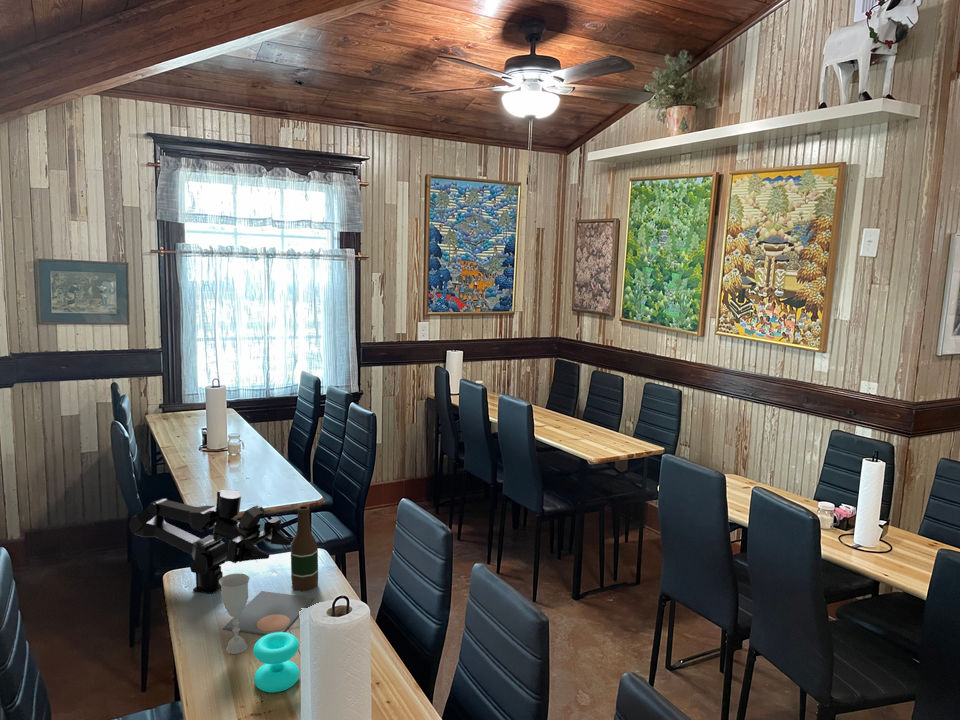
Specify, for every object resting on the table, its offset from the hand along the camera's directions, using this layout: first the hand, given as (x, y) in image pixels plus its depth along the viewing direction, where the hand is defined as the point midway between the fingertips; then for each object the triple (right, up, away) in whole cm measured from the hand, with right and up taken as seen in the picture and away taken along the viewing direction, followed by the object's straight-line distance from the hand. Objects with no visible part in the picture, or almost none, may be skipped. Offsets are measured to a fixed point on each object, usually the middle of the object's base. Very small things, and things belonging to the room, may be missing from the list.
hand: (279, 549), depth 192 cm
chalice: (-6, -20, -17) cm, 27 cm away
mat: (-2, -17, -1) cm, 17 cm away
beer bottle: (+3, -15, +15) cm, 21 cm away
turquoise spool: (+8, -22, -30) cm, 38 cm away
